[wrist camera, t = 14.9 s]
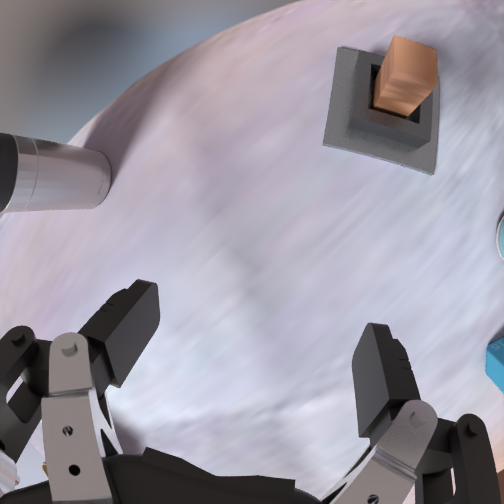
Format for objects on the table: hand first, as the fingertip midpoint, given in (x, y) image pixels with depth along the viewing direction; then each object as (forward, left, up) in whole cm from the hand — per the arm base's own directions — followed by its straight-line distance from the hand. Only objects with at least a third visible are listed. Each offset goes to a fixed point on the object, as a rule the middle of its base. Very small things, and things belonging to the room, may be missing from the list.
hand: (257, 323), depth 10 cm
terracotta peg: (+7, +19, -23) cm, 31 cm away
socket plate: (+8, +20, -24) cm, 32 cm away
